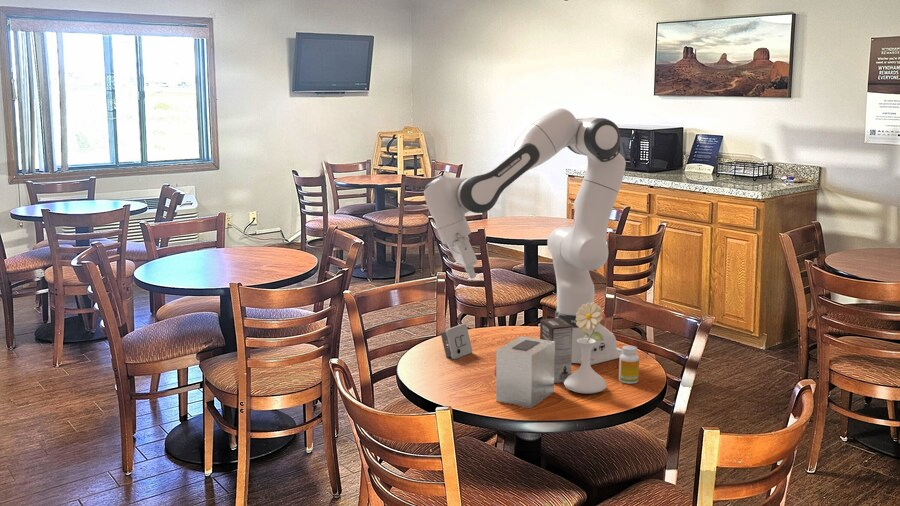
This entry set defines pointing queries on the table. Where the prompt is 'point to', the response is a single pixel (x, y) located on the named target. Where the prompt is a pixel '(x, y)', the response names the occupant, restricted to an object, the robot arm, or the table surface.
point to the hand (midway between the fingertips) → (472, 277)
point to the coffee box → (559, 345)
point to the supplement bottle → (629, 365)
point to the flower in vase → (587, 352)
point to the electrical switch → (456, 341)
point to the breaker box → (525, 371)
